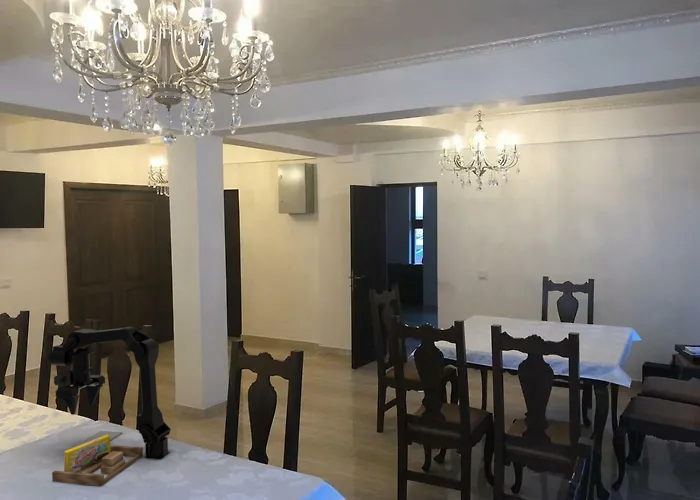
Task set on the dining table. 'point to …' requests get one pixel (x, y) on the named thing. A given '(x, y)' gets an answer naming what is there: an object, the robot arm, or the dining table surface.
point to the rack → (98, 478)
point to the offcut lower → (111, 468)
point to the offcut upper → (112, 459)
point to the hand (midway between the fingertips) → (82, 410)
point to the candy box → (86, 454)
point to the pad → (100, 434)
